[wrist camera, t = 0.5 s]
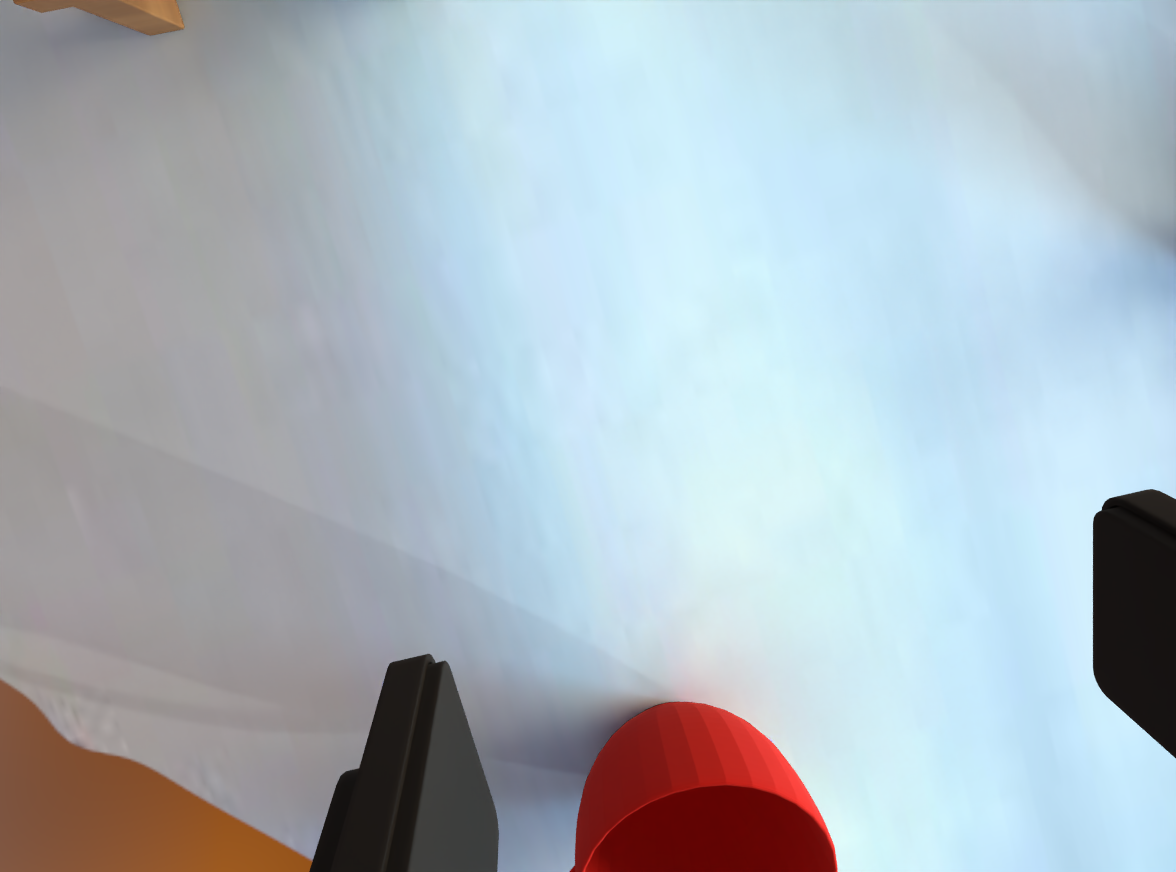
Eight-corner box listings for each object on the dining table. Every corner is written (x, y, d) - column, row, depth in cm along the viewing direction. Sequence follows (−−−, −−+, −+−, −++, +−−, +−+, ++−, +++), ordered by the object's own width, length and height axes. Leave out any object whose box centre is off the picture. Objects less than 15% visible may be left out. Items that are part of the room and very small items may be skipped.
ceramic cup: (471, 782, 47) (458, 934, 38) (691, 615, 44) (735, 733, 35) (608, 898, 51) (627, 1063, 41) (818, 749, 48) (889, 889, 39)
